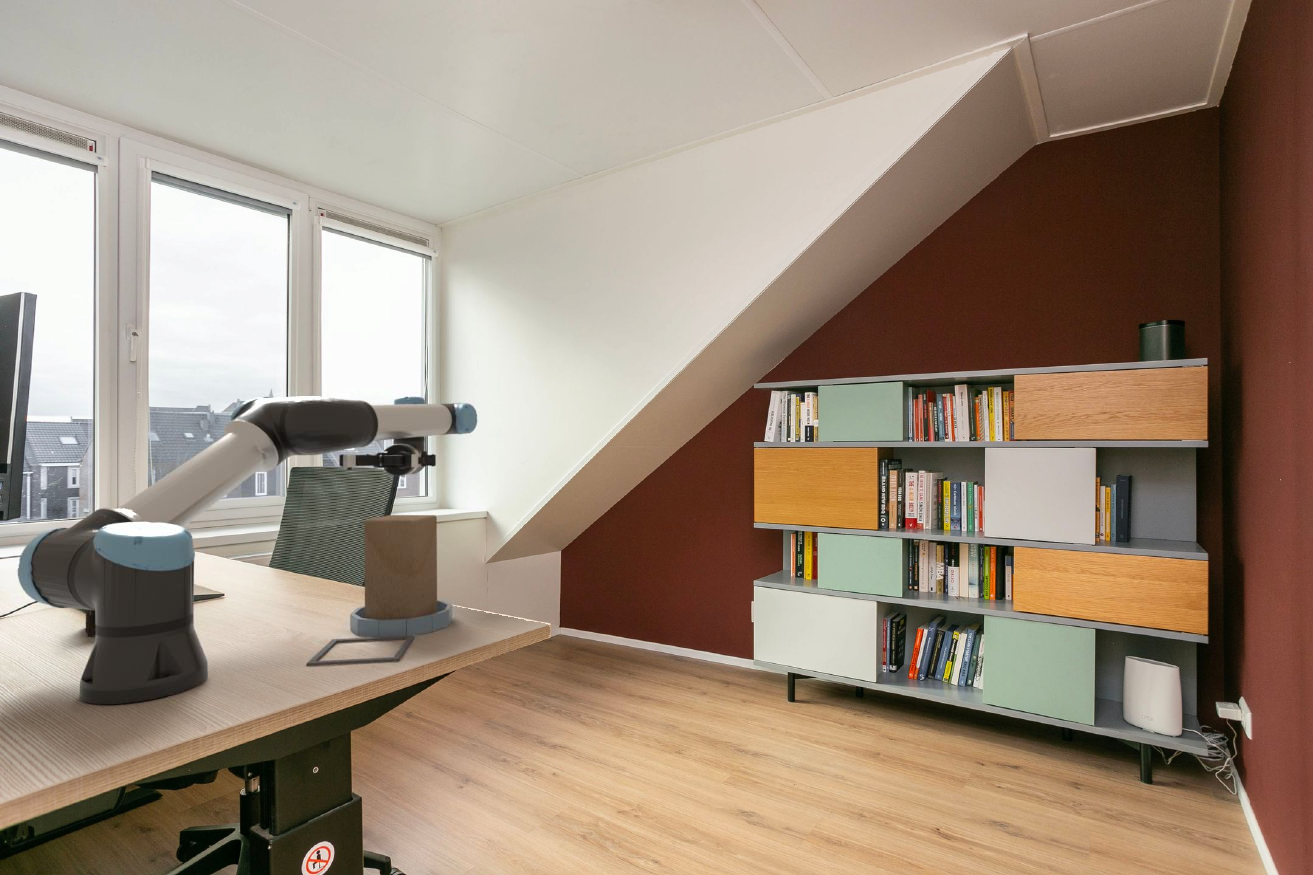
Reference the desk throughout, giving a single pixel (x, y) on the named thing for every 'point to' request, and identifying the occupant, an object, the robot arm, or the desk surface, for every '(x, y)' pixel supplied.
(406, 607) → the wooden block
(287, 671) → the desk surface
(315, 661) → the dark grey square frame
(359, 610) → the dish
